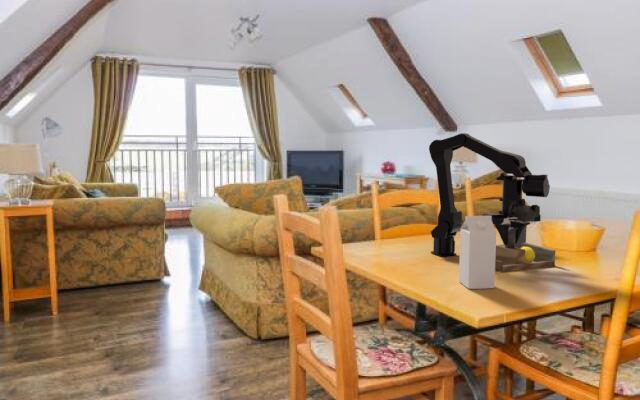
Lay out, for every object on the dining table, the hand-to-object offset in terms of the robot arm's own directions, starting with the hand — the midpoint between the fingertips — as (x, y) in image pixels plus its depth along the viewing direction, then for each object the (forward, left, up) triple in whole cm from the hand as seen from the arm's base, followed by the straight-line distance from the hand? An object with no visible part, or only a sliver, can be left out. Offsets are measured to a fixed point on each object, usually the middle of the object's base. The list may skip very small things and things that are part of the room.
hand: (510, 244), depth 159 cm
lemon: (+7, 0, -7) cm, 9 cm away
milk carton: (-25, -16, -7) cm, 30 cm away
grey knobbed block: (0, 0, -6) cm, 6 cm away
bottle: (+19, +18, -7) cm, 27 cm away
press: (+2, 0, -6) cm, 7 cm away
